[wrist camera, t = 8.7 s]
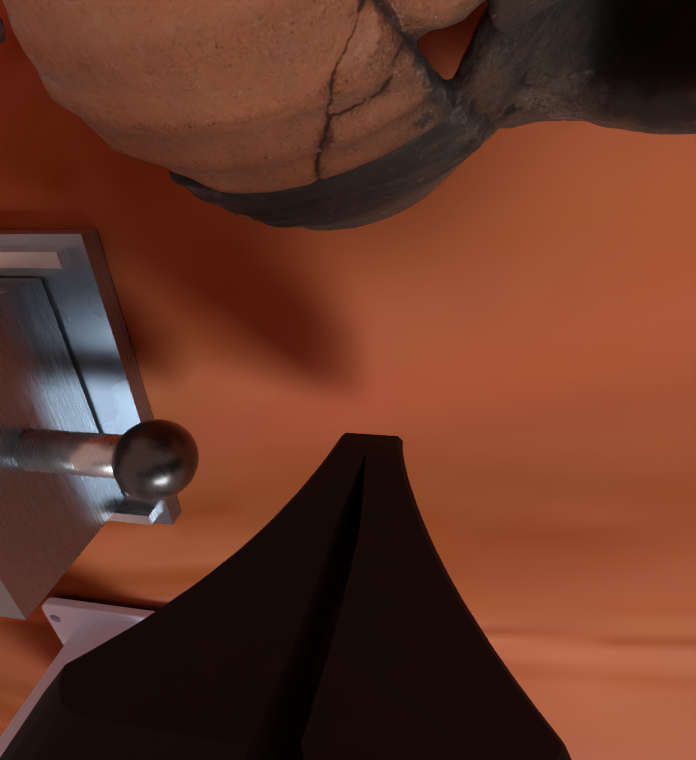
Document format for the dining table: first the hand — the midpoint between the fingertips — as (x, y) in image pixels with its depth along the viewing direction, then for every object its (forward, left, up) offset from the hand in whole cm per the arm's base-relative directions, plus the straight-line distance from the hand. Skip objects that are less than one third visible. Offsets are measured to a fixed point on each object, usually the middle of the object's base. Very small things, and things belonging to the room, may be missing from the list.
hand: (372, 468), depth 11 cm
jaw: (0, +8, -2) cm, 8 cm away
